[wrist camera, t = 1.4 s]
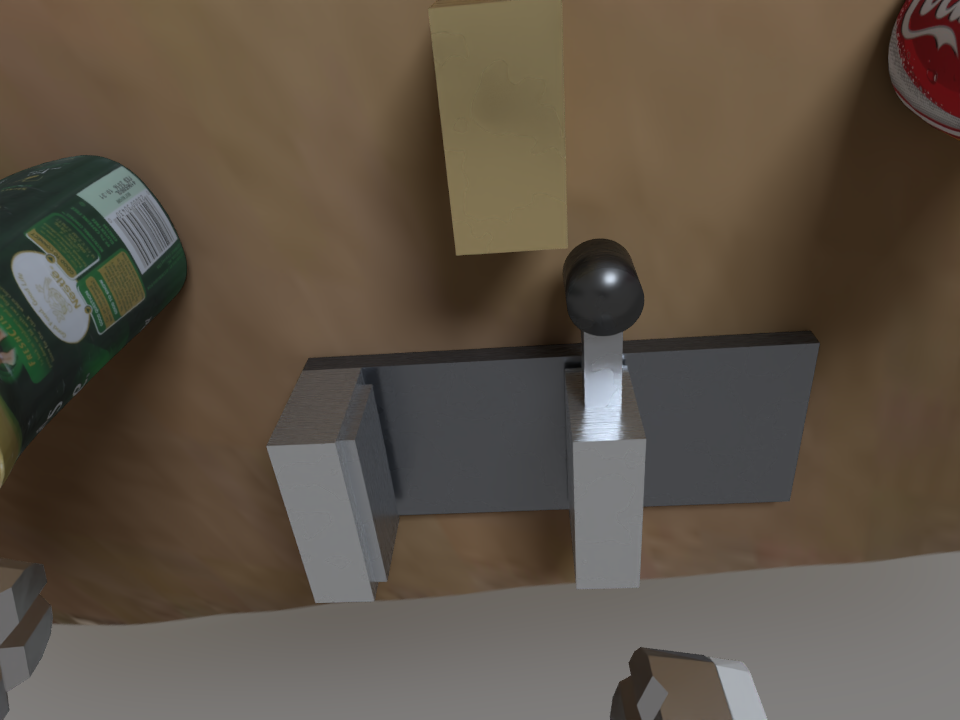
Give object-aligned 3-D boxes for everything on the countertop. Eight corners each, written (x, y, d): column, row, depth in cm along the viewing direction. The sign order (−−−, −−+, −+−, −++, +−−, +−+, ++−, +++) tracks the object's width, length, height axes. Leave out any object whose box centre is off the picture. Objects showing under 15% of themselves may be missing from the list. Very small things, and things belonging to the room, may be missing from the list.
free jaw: (630, 227, 30) (653, 284, 25) (623, 504, 38) (639, 587, 33) (560, 232, 30) (569, 290, 25) (568, 506, 38) (576, 589, 34)
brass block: (551, -19, 27) (561, -5, 21) (557, 186, 31) (567, 248, 25) (447, -9, 27) (428, 8, 21) (467, 193, 31) (456, 255, 25)
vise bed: (810, 330, 34) (876, 418, 28) (782, 486, 39) (832, 589, 33) (308, 358, 36) (266, 446, 30) (345, 502, 41) (315, 602, 35)
